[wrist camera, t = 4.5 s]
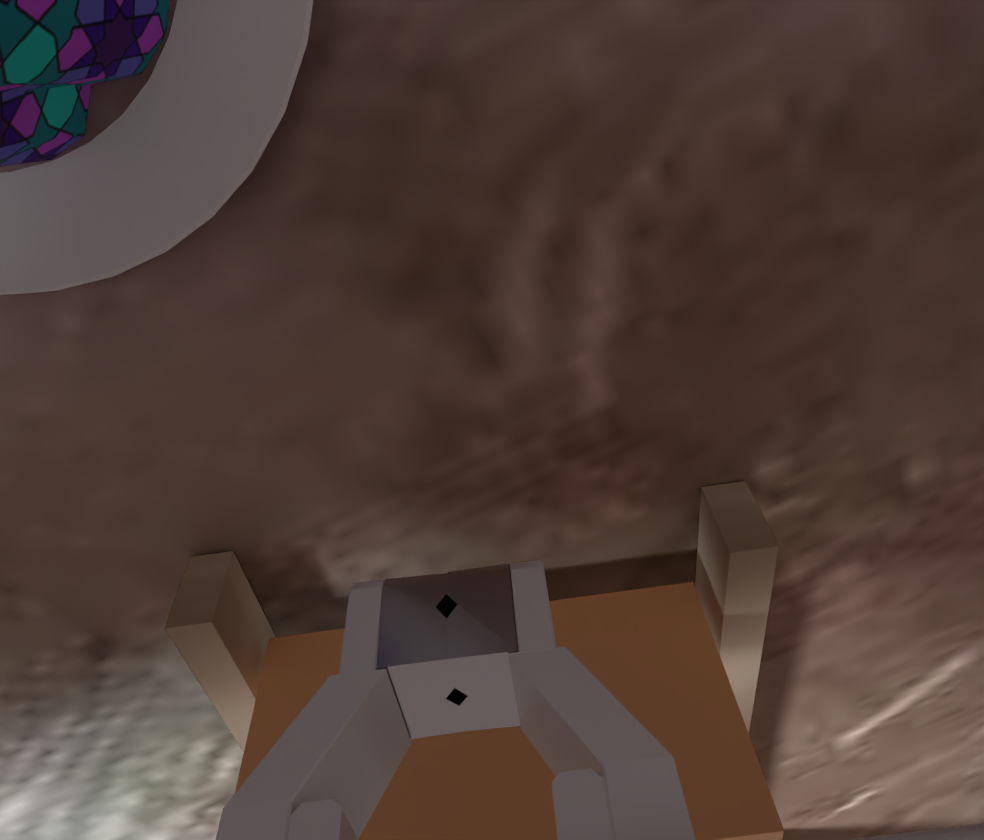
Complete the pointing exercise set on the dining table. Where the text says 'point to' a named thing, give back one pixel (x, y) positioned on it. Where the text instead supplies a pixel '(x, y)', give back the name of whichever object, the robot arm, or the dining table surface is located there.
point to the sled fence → (511, 756)
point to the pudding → (132, 126)
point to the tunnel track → (719, 585)
